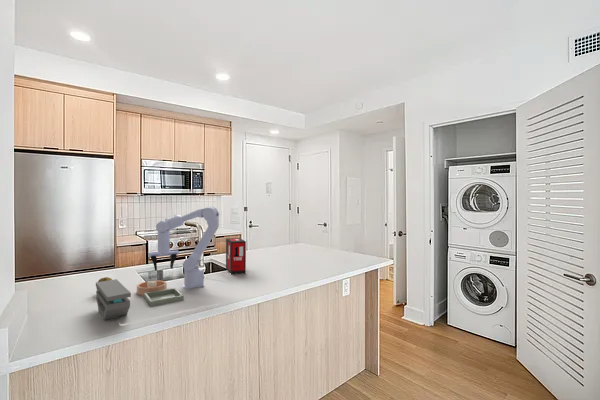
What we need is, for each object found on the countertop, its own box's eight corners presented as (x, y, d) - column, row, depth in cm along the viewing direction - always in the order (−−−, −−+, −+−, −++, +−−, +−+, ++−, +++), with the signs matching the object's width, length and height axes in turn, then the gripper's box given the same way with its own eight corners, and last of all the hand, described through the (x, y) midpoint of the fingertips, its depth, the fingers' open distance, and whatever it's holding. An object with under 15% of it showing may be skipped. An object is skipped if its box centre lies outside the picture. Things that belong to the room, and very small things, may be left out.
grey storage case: (95, 307, 133) (95, 282, 133) (116, 303, 138) (116, 279, 138) (107, 326, 115) (107, 297, 114) (130, 320, 120) (130, 292, 120)
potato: (93, 300, 141) (93, 283, 141) (97, 292, 153) (97, 276, 153) (114, 298, 145) (114, 281, 145) (117, 290, 156) (117, 274, 156)
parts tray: (175, 293, 153) (175, 287, 153) (183, 301, 142) (183, 295, 142) (144, 298, 145) (144, 293, 145) (150, 307, 133) (150, 301, 133)
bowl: (162, 286, 163) (162, 279, 163) (169, 293, 153) (169, 285, 153) (135, 291, 155) (134, 283, 155) (139, 298, 145) (139, 289, 145)
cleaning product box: (245, 273, 193) (245, 241, 192) (231, 274, 189) (231, 242, 189) (239, 267, 208) (239, 237, 207) (225, 268, 204) (226, 238, 204)
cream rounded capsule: (155, 288, 157) (155, 280, 157) (157, 291, 154) (157, 282, 153) (146, 290, 154) (146, 281, 154) (148, 292, 151) (148, 283, 151)
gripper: (149, 245, 155) (149, 272, 155) (179, 243, 163) (179, 269, 163) (147, 243, 161) (147, 269, 161) (176, 241, 169) (176, 266, 169)
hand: (163, 269), depth 163 cm, fingers open, 7 cm apart
